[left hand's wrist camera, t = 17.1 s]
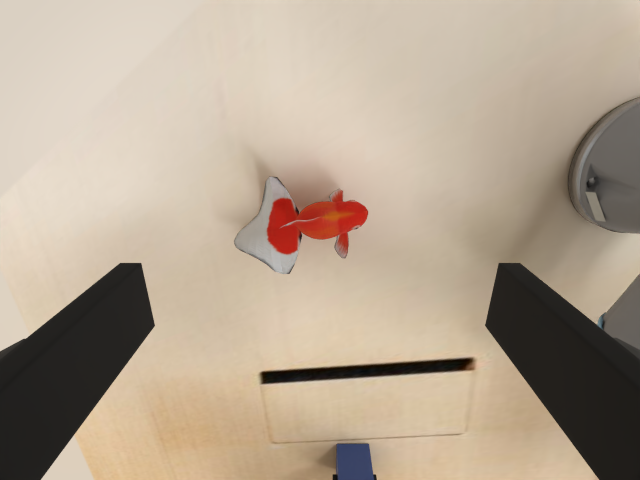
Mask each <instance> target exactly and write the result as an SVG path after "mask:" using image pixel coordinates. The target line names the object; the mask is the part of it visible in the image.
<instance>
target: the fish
mask: <svg viewBox="0 0 640 480" xmlns="http://www.w3.org/2000/svg"><path fill="white" fill-rule="evenodd" d="M329 198H330V201H331V202H318V203H314V204H311V205H309V206H307V207H306V208H304V209H303V210H302V211H301V212H300V214H299V211H298V209H297V207H296V205H295V203H294V201H293V199H292V198H291V196H290V194H289V192H288V191H287V189H286V188H285V187H284V185H283V184H282V183H281V182H280V180H279V179H278V178H277V177H269V178H268V179H267V181H266V184H265V190H264V195H263V201H262V205H261V208H260V211H259V214H258V215H257V216H256V217H255V218H254V219H253V220H252V221H251V222H250V223H249V224H248V225H247V226H245V227H244V228H243V229H242V230H241V231H240V232H239V233H238V234H237V236H236V238H235V240H234V244H235V246H236V248H238V249H239V250H241V251H243V252H245V253H247V254H249V255H251V256H253V257H255V258H257V259H259V260H260V261H262V262H264V263H265V264H267V265H268V266H269V267H270V268H271V269H273V270H274V271H275V272H279V273H282V274H290V272H291V270H292V268H293V266H294V264H295V261H296V258H297V255H298V251H299V247H300V242H301V237H302V234H301V232H302V233H303V234H305V235H307V236H309V237H311V238H314V239H328V238H332V237H335V236H337V240H336V243H335V250H336V251H337V253H338V254H339V255H340V256H341V257H342V258H346V256H347V253H348V245H349V241H348V233H347V232H349V231H351V230H353V229H357V228H359V227H360V226H362V225H363V224H364V222H365V221H366V219H367V216H368V210H367V209H366V207H365V206H363V205H362V204H360V203H359V202H357V201H355V200H349V201H347V202H343V191H342V190H340V189H338V190H336V191H334V192H333V193H332V194H331V195H330V196H329Z"/></svg>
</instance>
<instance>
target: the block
mask: <svg viewBox="0 0 640 480" xmlns="http://www.w3.org/2000/svg"><path fill="white" fill-rule="evenodd" d="M336 475H338V480H374V477H373V470H372V463H371V456H370V449H369V444H337V455H336Z"/></svg>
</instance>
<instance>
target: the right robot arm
mask: <svg viewBox="0 0 640 480" xmlns="http://www.w3.org/2000/svg"><path fill="white" fill-rule="evenodd" d="M373 477H374V480H377V479H376V475H373ZM333 480H338V475H333Z"/></svg>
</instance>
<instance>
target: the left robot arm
mask: <svg viewBox="0 0 640 480" xmlns="http://www.w3.org/2000/svg"><path fill="white" fill-rule="evenodd" d="M568 187H569V194H570V198H571V200H572V203H573V205H574V207H575V208H576V210H577V211H578V212H579V213H580V215H581V216H583V217H584V218H585V219H586V220H588V221H590V222H592V223H594V224H596V225H598V226H600V227H603V228H605V229H607V230H610V231H614V232H621V233H638V234H640V97H639V98H636V99H634V100H631V101H629V102H627V103H624V104H622V105H621V106H619V107H617V108H615V109H614V110H612V111H611V112H610V113H608V114H607V115H606V116H604V117H603V118H602V119H601V120H600V121H599V122H598V123H597V124H596V125H595V126H594V127H593V128H592V129H591V130H590V131H589V132H588V134H587V135H586V136H585V138H584V139H583V141H582V142H581V144H580V145H579V147H578V149H577V151H576V153H575V155H574V158H573V160H572V164H571V167H570V172H569V180H568ZM154 326H155V324H154V320H153V315H152V311H151V306H150V301H149V297H148V292H147V288H146V283H145V279H144V274H143V269H142V265H141V263H120V264H119V265H117V266H116V267H115V268H114V269H112V270H111V271H110V272H109V273H107V274H106V275H105V276H104V277H102V278H101V279H100V280H99V281H97V282H96V283H95V284H94V285H92V286H91V287H90V288H89V289H87V290H86V291H85V292H84V293H82V294H81V295H80V296H79V297H77V298H76V299H75V300H74V301H72V302H71V303H70V304H69V305H67V306H66V307H65V308H64V309H62V310H61V311H60V312H59V313H57V314H56V315H55V316H54V317H53V318H51V319H50V320H49V321H48V322H46V323H45V324H44V325H43V326H41V327H40V328H39V329H38V330H36V331H35V332H34V333H33V334H31V335H30V336H29V337H28V338H26V339H23V340H21V341H19V342H17V343H15V344H13V345H11V346H10V347H8V348H6V349H4V350H2V351H0V480H41V478H42V477H43V476H44V475H45V473H46V472H47V470H48V469H49V468H50V466H51V465H52V464H53V462H54V461H55V460H56V458H57V457H58V456H59V454H60V453H61V452H62V450H63V449H64V448H65V446H66V445H67V444H68V442H69V441H70V439H71V438H72V437H73V435H74V434H75V433H76V431H77V430H78V429H79V427H80V426H81V425H82V423H83V422H84V421H85V419H86V418H87V417H88V415H89V414H90V412H91V411H92V410H93V408H94V407H95V406H96V404H97V403H98V402H99V400H100V399H101V398H102V396H103V395H104V394H105V392H106V391H107V390H108V388H109V387H110V385H111V384H112V383H113V381H114V380H115V379H116V377H117V376H118V375H119V373H120V372H121V371H122V369H123V368H124V367H125V365H126V364H127V363H128V361H129V360H130V359H131V357H132V356H133V354H134V353H135V352H136V350H137V349H138V348H139V346H140V345H141V344H142V342H143V341H144V340H145V338H146V337H147V336H148V334H149V333H150V332H151V330H152V329H153V327H154ZM485 326H486V327H487V329H488V330H489V332H490V333H491V334H492V336H493V337H494V338H495V340H496V341H497V342H498V344H499V345H500V346H501V348H502V349H503V350H504V352H505V353H506V354H507V356H508V357H509V359H510V360H511V361H512V363H513V364H514V365H515V367H516V368H517V369H518V371H519V372H520V373H521V375H522V376H523V377H524V379H525V380H526V381H527V383H528V384H529V385H530V387H531V388H532V390H533V391H534V392H535V394H536V395H537V396H538V398H539V399H540V400H541V402H542V403H543V404H544V406H545V407H546V408H547V410H548V411H549V412H550V414H551V415H552V417H553V418H554V419H555V421H556V422H557V423H558V425H559V426H560V427H561V429H562V430H563V431H564V433H565V434H566V435H567V437H568V438H569V439H570V441H571V442H572V444H573V445H574V446H575V448H576V449H577V450H578V452H579V453H580V454H581V456H582V457H583V458H584V460H585V461H586V462H587V464H588V465H589V466H590V468H591V469H592V470H593V472H594V473H595V475H596V476H597V477H598V479H599V480H640V274H639V275H638V276H637V278H636V279H635V280H634V281H633V282H632V284H631V285H630V286H629V287H628V288H627V290H626V291H625V292H624V293H623V294H622V295H621V297H620V298H619V299H618V300H617V301H616V302H615V303H614V305H613V306H612V307H611V308H610V309H609V310H608V311H607V313H604V314H603V315H601V317H600V318H599V320H598V324H597V325H596V324H595V323H594V322H592V321H591V320H590V319H589V318H587V317H586V316H585V315H584V314H583V313H581V312H580V311H579V310H578V309H576V308H575V307H574V306H573V305H571V304H570V303H569V302H568V301H566V300H565V299H564V298H563V297H561V296H560V295H559V294H558V293H556V292H555V291H554V290H553V289H551V288H550V287H549V286H548V285H546V284H545V283H544V282H543V281H541V280H540V279H539V278H538V277H536V276H535V275H534V274H533V273H531V272H530V271H529V270H528V269H526V268H525V267H524V266H523V265H521V264H520V263H499V265H498V269H497V274H496V279H495V283H494V288H493V292H492V297H491V301H490V306H489V311H488V315H487V320H486V324H485Z"/></svg>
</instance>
